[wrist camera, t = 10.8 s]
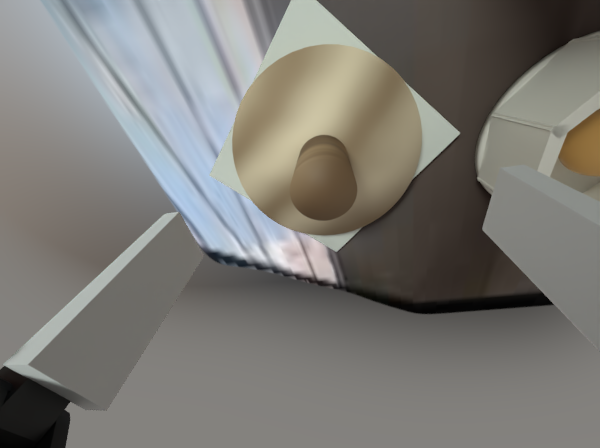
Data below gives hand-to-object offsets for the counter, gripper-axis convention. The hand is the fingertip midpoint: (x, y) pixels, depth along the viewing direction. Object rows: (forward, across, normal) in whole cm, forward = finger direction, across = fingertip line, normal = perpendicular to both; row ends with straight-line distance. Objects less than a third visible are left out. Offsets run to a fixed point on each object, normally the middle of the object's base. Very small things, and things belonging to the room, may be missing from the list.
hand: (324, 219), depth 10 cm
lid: (+11, 0, -1) cm, 11 cm away
